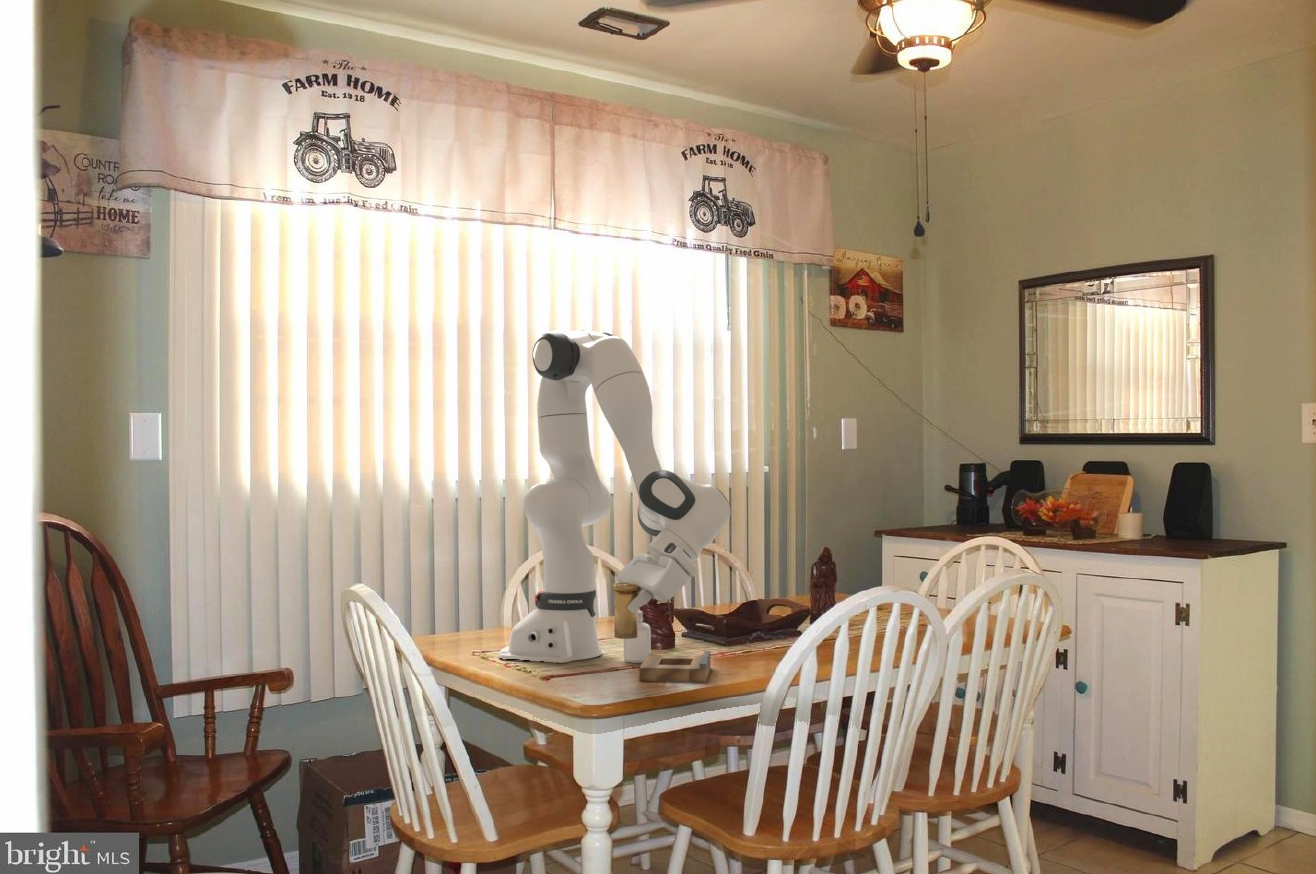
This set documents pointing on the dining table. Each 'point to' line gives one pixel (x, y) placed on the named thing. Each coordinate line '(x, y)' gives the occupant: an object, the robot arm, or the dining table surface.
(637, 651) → the eye dropper bottle
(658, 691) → the dining table surface
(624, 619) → the bushing
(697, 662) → the jig
